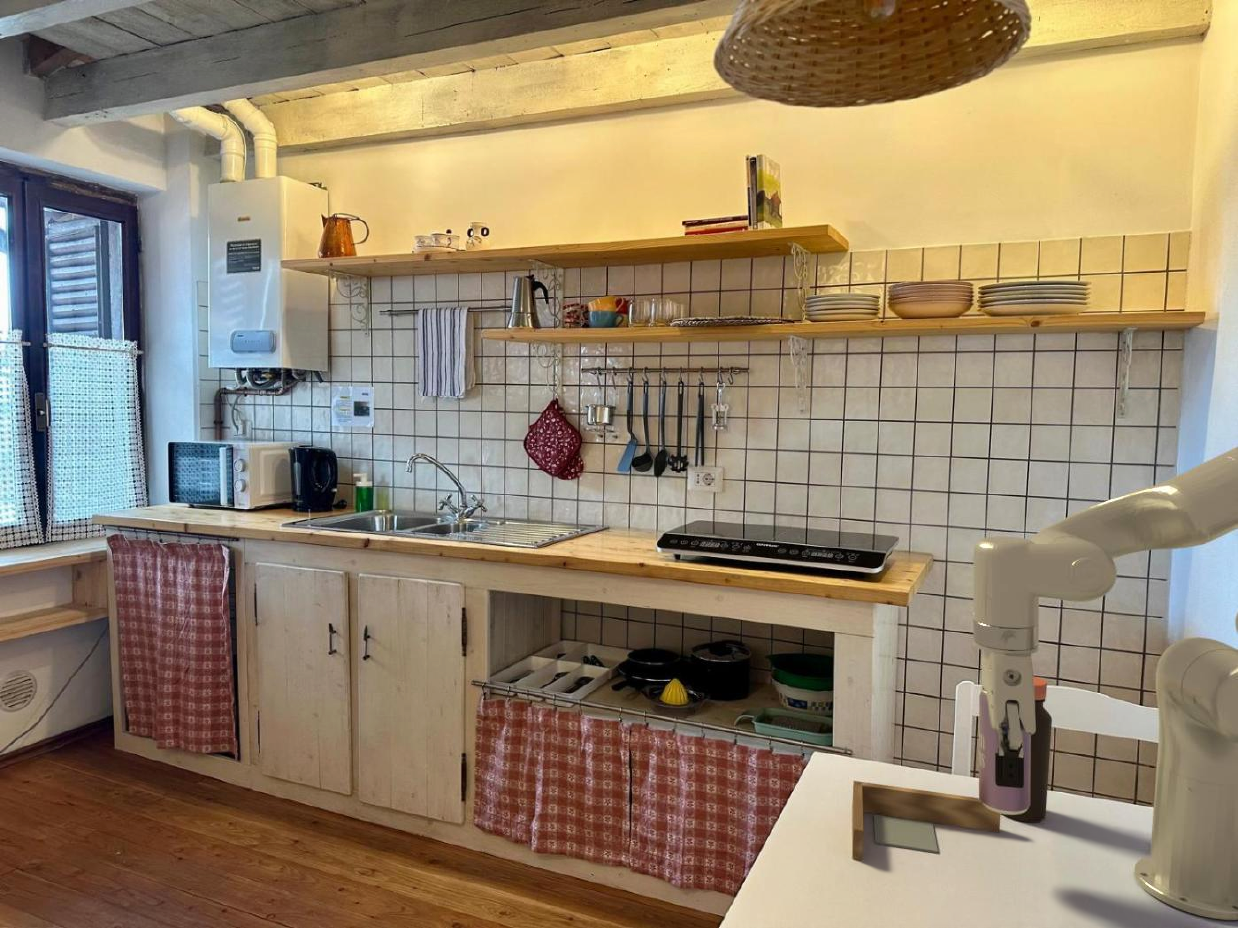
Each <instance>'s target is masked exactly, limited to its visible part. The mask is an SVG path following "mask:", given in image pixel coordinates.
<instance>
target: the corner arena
mask: <svg viewBox="0 0 1238 928" xmlns="http://www.w3.org/2000/svg"><path fill="white" fill-rule="evenodd" d="M851 804H852V806H851V807H852V808H851V810H852V811H851V816H852V817H851V822H852V823H851V825H852V827H851V830H852V832H851V835H852V836H851V837H852V839H851V843H852V844H851V845H852V846H851V847H852V856H851V857H852V858H851V859H852V860H856V861H857V860H858V861H862V860H863V847H864V846H863V845H864V844H863V843H864V813H866V814H873V815H880V816H887V817H894V818H900V819H907V820H914V821H920V822H927V823H932V824H934V823H935V824H939V825H940V824H941V825H946V826H947V825H948V826H954V827H962V828H967V829H975V830H979V831H980V830H982V831H986V832H987V831H988V832H994V833H1000V829H1001V817H1002V816H1001V815H1002V814H1001V813H998V812H995V811H992V810H990V809H988V808H986V807H985V806H984V805H983V804H982V802H981V800H980V798H979V797H975V796H974V797H973V796H965V795H958V794H952V793H944V792H937V791H930V790H923V789H916V788H908V787H902V786H901V787H900V786H894V785H886V784H879V783H872V782H865V781H858V780H853V784H852V803H851Z"/></svg>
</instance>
